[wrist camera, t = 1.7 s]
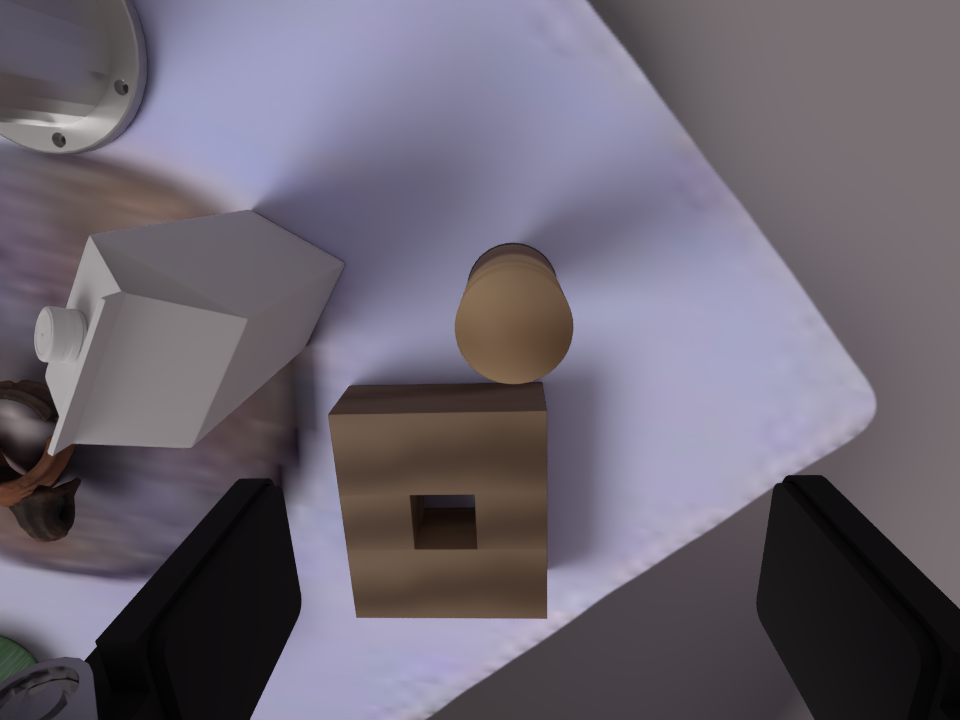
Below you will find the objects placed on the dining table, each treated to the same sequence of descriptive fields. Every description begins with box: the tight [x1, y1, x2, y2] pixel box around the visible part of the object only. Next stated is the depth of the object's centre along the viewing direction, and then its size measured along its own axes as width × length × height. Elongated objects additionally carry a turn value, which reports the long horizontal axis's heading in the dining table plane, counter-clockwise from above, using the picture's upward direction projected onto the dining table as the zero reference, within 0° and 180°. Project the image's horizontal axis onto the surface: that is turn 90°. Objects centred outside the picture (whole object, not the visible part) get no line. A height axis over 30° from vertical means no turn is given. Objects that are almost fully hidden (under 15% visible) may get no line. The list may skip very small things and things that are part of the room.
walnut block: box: [328, 382, 547, 619], centre depth 40 cm, size 16×14×5 cm
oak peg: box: [455, 243, 573, 384], centre depth 31 cm, size 5×5×14 cm
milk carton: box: [34, 210, 345, 456], centre depth 29 cm, size 7×7×19 cm
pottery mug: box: [0, 380, 81, 542], centre depth 41 cm, size 12×10×8 cm
